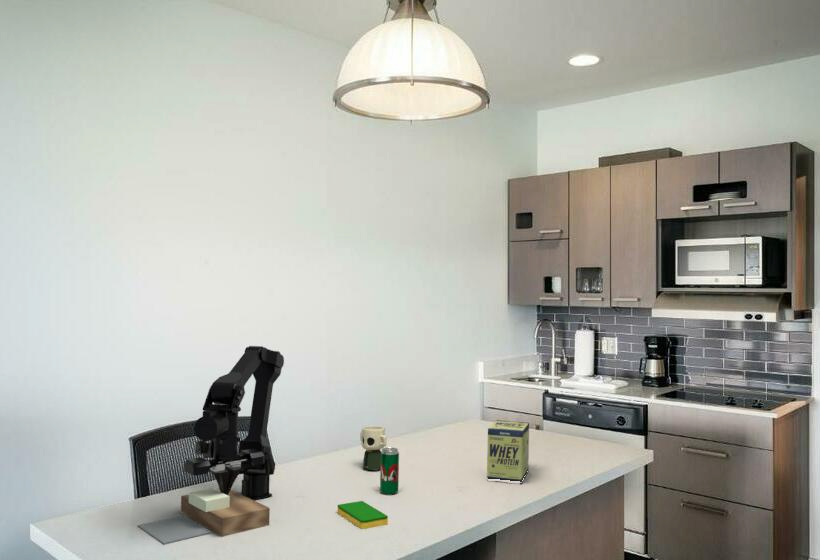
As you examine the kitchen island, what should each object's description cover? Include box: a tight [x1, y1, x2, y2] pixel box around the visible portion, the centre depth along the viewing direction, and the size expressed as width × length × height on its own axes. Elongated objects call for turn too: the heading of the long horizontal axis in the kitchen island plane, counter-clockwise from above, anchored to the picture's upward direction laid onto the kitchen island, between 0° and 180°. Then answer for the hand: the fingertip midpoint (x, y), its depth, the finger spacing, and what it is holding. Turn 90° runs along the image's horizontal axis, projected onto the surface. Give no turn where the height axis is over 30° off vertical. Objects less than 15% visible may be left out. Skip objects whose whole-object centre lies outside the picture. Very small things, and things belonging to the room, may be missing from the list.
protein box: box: [486, 419, 530, 483], centre depth 211 cm, size 10×16×16 cm
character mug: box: [359, 425, 387, 471], centre depth 216 cm, size 11×7×13 cm, turn 49°
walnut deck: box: [180, 488, 271, 537], centre depth 168 cm, size 12×22×4 cm, turn 42°
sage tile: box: [188, 487, 230, 512], centre depth 166 cm, size 6×9×2 cm, turn 43°
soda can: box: [379, 446, 400, 495], centre depth 192 cm, size 5×5×12 cm
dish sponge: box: [336, 500, 389, 530], centre depth 170 cm, size 7×14×2 cm, turn 31°
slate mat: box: [137, 514, 212, 545], centre depth 160 cm, size 11×15×1 cm
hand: (224, 497), depth 168 cm, fingers closed
